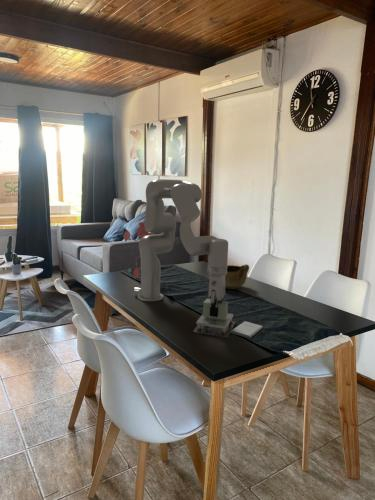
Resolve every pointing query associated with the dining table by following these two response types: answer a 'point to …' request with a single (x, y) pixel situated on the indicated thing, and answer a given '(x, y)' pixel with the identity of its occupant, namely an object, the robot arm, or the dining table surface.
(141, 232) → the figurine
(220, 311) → the pale green block
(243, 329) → the external hard drive
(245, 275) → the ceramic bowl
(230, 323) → the chassis
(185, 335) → the dining table surface
